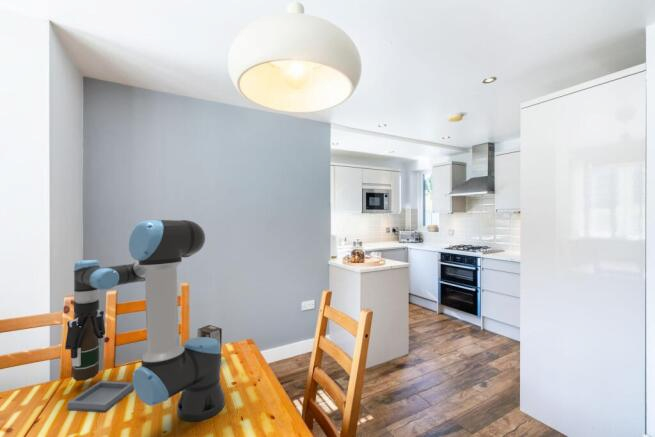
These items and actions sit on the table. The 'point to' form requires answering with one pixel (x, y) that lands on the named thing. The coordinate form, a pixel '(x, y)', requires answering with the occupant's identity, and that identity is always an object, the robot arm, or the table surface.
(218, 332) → the coffee box
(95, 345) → the beer bottle
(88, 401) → the tray
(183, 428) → the table surface
